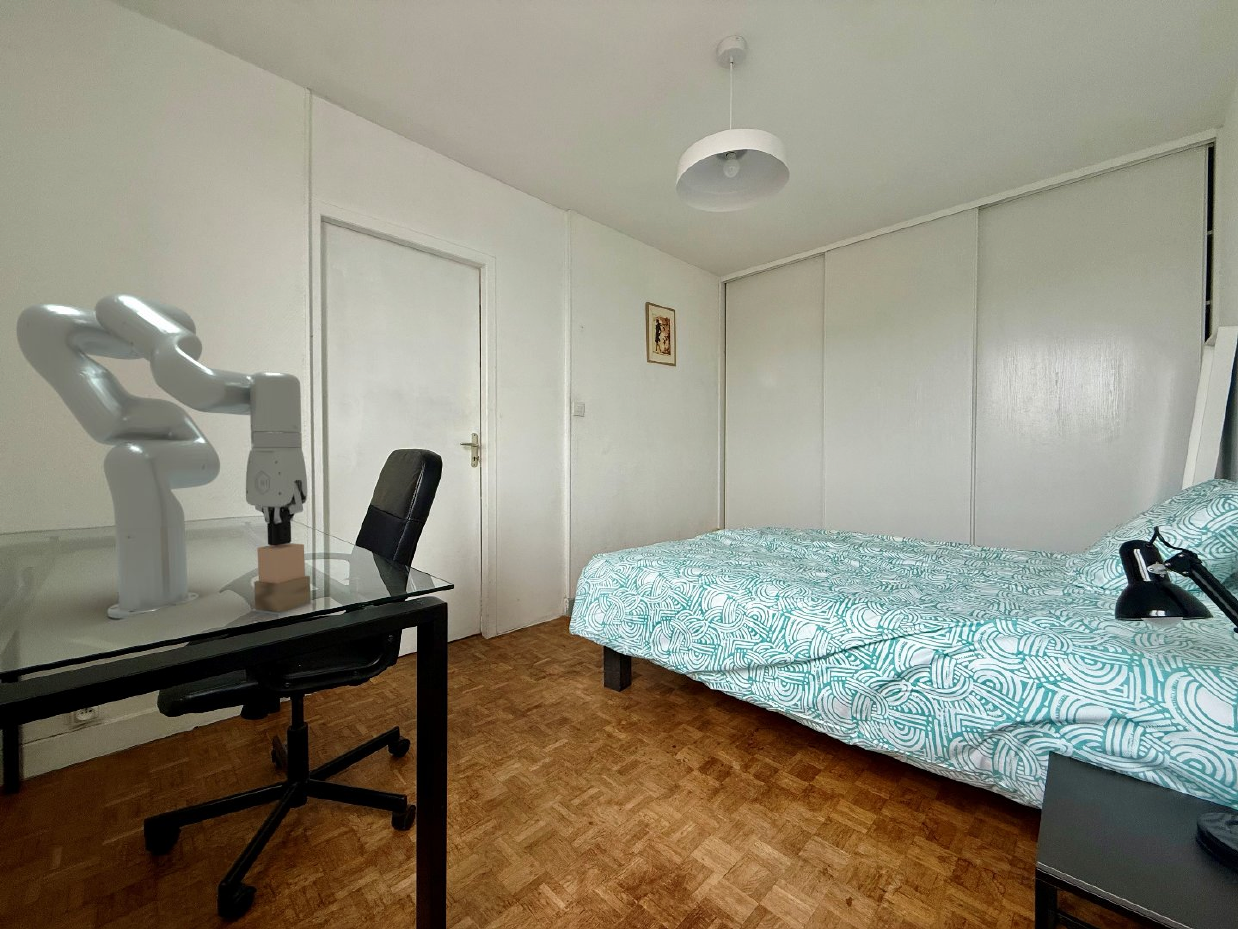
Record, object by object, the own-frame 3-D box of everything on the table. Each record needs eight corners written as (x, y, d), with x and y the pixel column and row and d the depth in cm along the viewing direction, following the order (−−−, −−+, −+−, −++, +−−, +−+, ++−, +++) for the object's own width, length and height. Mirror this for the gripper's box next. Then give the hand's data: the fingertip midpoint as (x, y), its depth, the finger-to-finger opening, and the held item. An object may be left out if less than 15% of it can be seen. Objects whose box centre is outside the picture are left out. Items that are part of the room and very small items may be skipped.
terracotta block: (258, 581, 90) (257, 547, 89) (286, 574, 94) (284, 542, 94) (278, 583, 88) (277, 549, 87) (305, 576, 92) (303, 544, 92)
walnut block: (255, 609, 89) (254, 581, 89) (287, 599, 95) (286, 573, 95) (279, 613, 87) (277, 584, 87) (310, 602, 93) (309, 576, 93)
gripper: (226, 442, 89) (229, 545, 90) (286, 442, 84) (289, 551, 85) (268, 442, 96) (271, 537, 97) (326, 442, 91) (328, 543, 92)
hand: (279, 543), depth 91 cm, fingers closed
